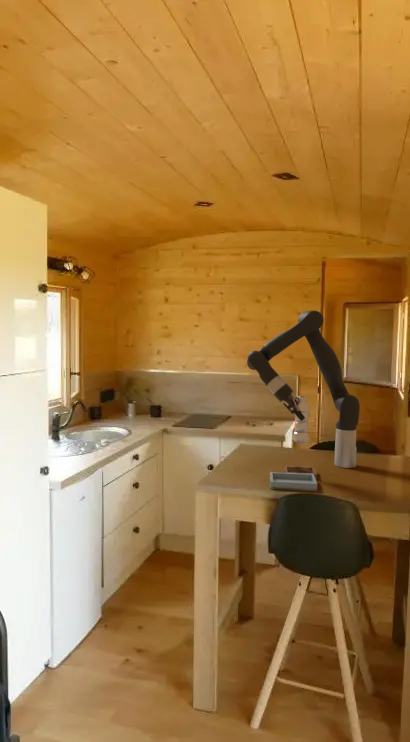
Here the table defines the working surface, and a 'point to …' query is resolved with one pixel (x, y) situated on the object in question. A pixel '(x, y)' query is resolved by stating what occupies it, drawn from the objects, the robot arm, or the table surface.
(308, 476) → the slate tray
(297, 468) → the walnut holder
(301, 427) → the plastic bottle
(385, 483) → the table surface
